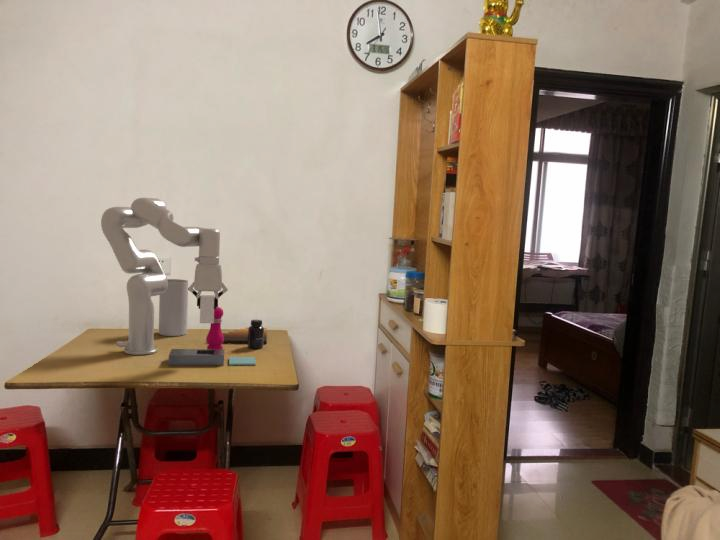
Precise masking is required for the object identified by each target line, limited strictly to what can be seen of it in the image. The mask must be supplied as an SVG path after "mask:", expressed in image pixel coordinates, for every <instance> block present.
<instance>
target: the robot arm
mask: <svg viewBox="0 0 720 540" xmlns="http://www.w3.org/2000/svg"><path fill="white" fill-rule="evenodd" d="M100 223H101V224H100V225H101V226H100V227H101V231H102V233H103V235H104V237H105V238H106V240H107V242H108V243H109V245H110V247H111V249H112V252H113V254H114V256H115V258H116V261H117V262H118V265H119V266H120V268H121V270H122V271H123V272H124V273H126V274H134V275H132V276H131V277H129V279H128V280H127V282H126V292H127V298H128V340H125V341H116V346H117V347H118V348H123V347H124V350H123V352H124V354H126V355H132V356H145V355H152V354H155V353H157V352H158V348H157V346H154V338H155V337H154V334H155V333H154V332H155V331H154V330H155V305H154V302H153V300H152V298H151V297H156V296H160V295H161V294H163V293H165V292H166V290H167V288H168V281H167V279H168V277H167V275H166V273H165V271H164V269H163V266H162V265H161V263H160V261H159V259H158V257H157V255H156V254H155V253H154V252H152V250H149V249H139V248H138V247H137V246H136V244H135V242H134V240H133V238H132V237H131V235H130V234H129V233H128V232H127V231H125V230H124V229H137V228H141V227H145V226H147V225H150V226H152V227H153V228H155V229H156V230H158V232H159V234H160V236H161V237H162V238H163V239H165V240H166V241H169V243H172V244H173V245H175V246H177V247H181V248H187V247H191V248H193V247H198V257H197V256H196V257H194V261H195V262H198V263H197V264H196V266H195V270H194V278H193V279H194V280H193V282H192V283H191V285H190V286H188V292H191V294H192V295H194V296H195V297H196V306H197V307H198V310H200V300H201V295H202V292H213V294H214V296H215V298H214V309H216V307H219V299H220V297H221V296H223V295H224V294H225V293H227V292H228V291H229V290H228V288H227V287H226V285H225V284H224V283H223V273H222V271H223V270H222V266H221V264H220V250H221V249H220V248H221V247H220V244H221V243H220V242H221V241H220V240H221V231H220V230H219V229H216V228H203V227H200V226H182V225H180V224H178V223H177V222H175V221H174V214H173V212H172V211H170V210H169V209H167V205H166V204H165V202H164V201H162V200H161V199H159V198H151V197H138V198H136V199H134V200H133V202H132V203H131V205H130V206H113V207H109V208H107V209H105V211H104V212H103V213H102V216H101V220H100Z"/></svg>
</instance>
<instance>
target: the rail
mask: <svg viewBox="0 0 720 540" xmlns="http://www.w3.org/2000/svg"><path fill="white" fill-rule="evenodd" d="M204 365H205V366H206V367H209V366H210V367H211V366H212V367H215V366H216V365H217V366H218V367H219V366H220V367H221V366H224V365H225V349H224V348H222V349H207V348H171V350H170V352H169V354H168V367H169V366H170V367H177V366H179V367H180V366H181V367H182V366H183V367H185V366H186V367H193V366H194V367H205V366H204ZM214 365H215V366H214ZM217 366H216V367H217Z"/></svg>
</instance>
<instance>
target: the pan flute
mask: <svg viewBox="0 0 720 540" xmlns="http://www.w3.org/2000/svg"><path fill="white" fill-rule="evenodd" d="M248 328H249V327H248V326H247V327H245V328H240V329H239V330H237V329H235V330H234V331H228V332H227V333H226V332H222V334H223V336H224V342H223V343H222V344H228V343H231V344H236V345H238V344H242V345H247V343H248ZM263 328H264V340H263V345H267V341H268V337H267V336H268V335H267V333H268V332H267V331H268V330H267V329H268V328H267V327H263ZM231 344H230V345H231Z"/></svg>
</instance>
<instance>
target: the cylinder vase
mask: <svg viewBox="0 0 720 540" xmlns="http://www.w3.org/2000/svg"><path fill="white" fill-rule="evenodd" d="M167 281H168V288H167V290H166V292H165V293H163V294H161V295H158V298H159V307H158V308H159V309H158V334H159V335H160V336H165V337H181V335H182V336H184V335H186V334H187V333H188V308H189V307H188V301H189V299H188V298H189V297H188V296H189V290H188V288H189V280H187V279H182V278H181V279H179V278H176V279H175V278H167Z"/></svg>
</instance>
